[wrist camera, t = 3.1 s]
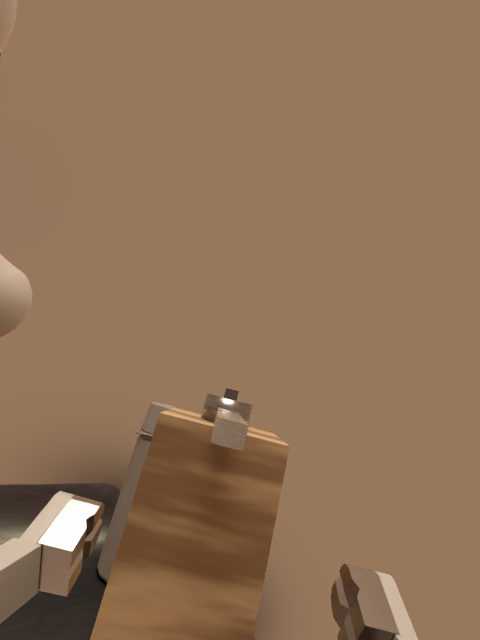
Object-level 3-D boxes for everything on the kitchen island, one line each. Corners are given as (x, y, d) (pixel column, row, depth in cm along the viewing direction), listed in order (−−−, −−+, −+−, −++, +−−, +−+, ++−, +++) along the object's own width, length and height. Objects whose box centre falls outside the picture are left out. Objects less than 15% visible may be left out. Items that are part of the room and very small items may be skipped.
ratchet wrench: (267, 457, 21) (279, 398, 22) (185, 436, 21) (201, 377, 22) (244, 426, 40) (252, 395, 41) (202, 415, 40) (210, 384, 41)
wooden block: (226, 777, 24) (289, 446, 30) (60, 735, 24) (159, 412, 30) (224, 651, 36) (270, 431, 42) (112, 623, 35) (176, 407, 42)
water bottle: (154, 581, 44) (199, 414, 51) (104, 596, 39) (162, 408, 45) (126, 548, 51) (170, 403, 57) (81, 557, 45) (134, 397, 52)
